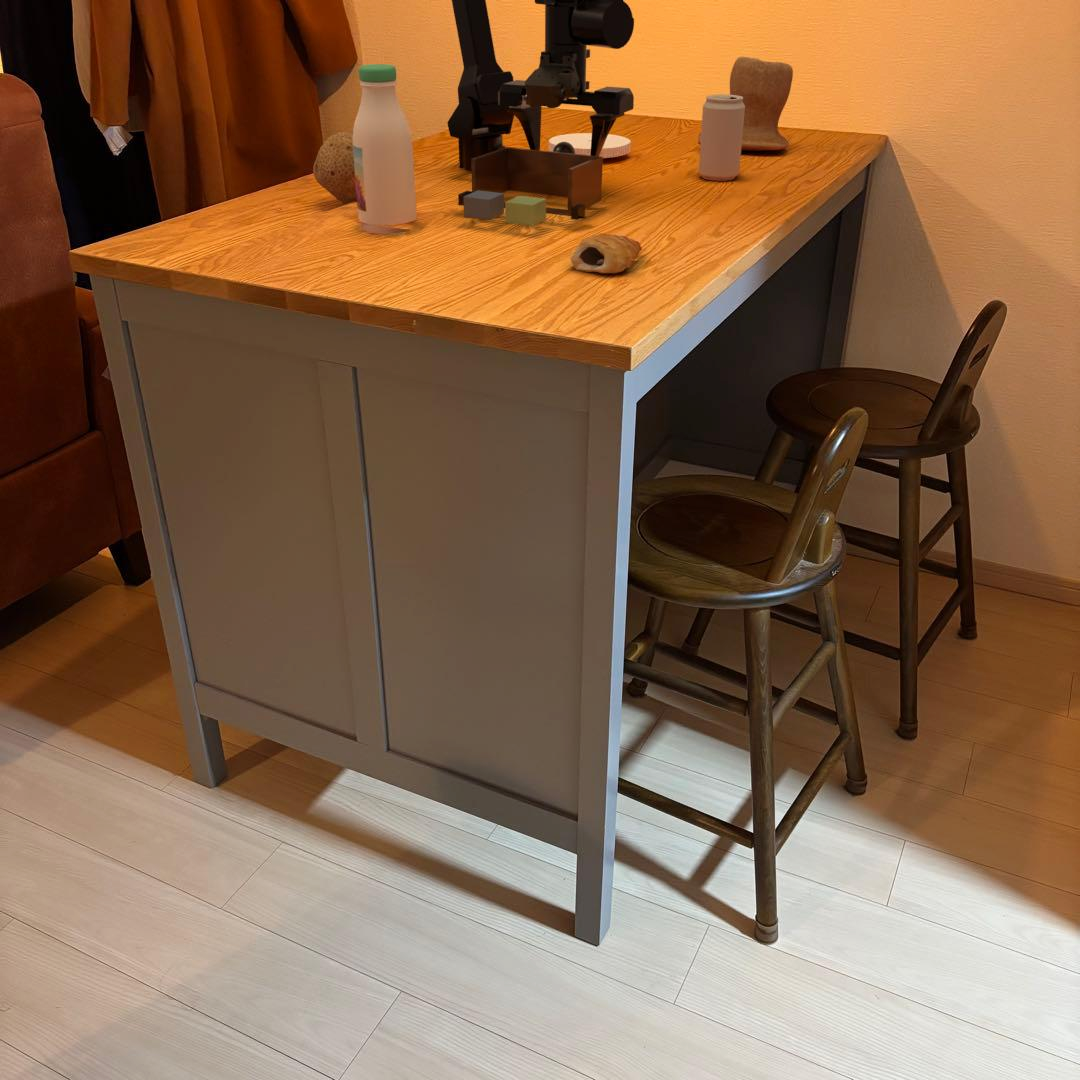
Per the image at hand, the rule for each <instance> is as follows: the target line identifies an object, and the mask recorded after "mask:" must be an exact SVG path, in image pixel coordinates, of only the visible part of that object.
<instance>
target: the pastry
mask: <svg viewBox="0 0 1080 1080" xmlns="http://www.w3.org/2000/svg"><path fill="white" fill-rule="evenodd" d="M640 252H642V245H641V243H640V242H639V241H637V240H635V239H632V238H629V237H628V236H625V235H618V234H609V233H608V234H607V233H598V234H592V235H591V236H589V237H584V238H582V240H581V241H580V242H579V244H578V245H577V246H576V248H575V250H574V252H573V253H572V255H571V256H570V262H571V264H572V265H573V266H574V269H575V270H577V271H580V272H581V271H582V272H586V273H588V272H589V273H590V272H595V273H599V274H617V273H620V272H623V271H624V270H625V269H627V268H628V270H629V269H631V268H632V267H634V266H635V265H636V264H637V263H638V262H639V260H634V259H636V257H637V256H638V255H639V254H640Z"/></svg>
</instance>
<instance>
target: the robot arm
mask: <svg viewBox="0 0 1080 1080" xmlns="http://www.w3.org/2000/svg"><path fill="white" fill-rule="evenodd" d="M534 3H535V4H536V5H543V6H544V7H545V8H544V19H545V20H544V50H543V51H540V56H539V65H538V67H537V68H536V69H534V71H532V73H531V74H530V75H529V76H528V77H527V78H526V80H522V79H516V80H514V76H513V74H512V72H511V71H510V70H508V71H504V70H503V69H502V67H501V66H500V65H499V63H498V62H497V57H496V52H495V46H494V40H493V35H492V30H491V24H490V18H489V13H488V12H489V11H488V6H487V0H451V5H452V9H453V15H454V21H455V26H456V31H457V37H458V42H459V48H460V54H461V59H462V65H463V70H462V73H461V76H460V79H459V82H458V86H457V97H458V98H457V101H458V104H457V106H456V108H455V109H454V111H453V113H452V114H451V116H450V117H449V119H448V120H447V123H446V124H447V128H448V132H449V136H450V137H451V138H455V139H458V141H457V142H458V166H459V169H463V170H465V171H468V172H472V169H471V159H473V158H475V157H478V156H481V155H484V154H487V153H490V152H493V151H496V150H499V149H502V148H505V147H506V146H505V145H503V144H504V142H503V135H510V134H511V131H512V127H513V123H514V118H516V119H517V120H518V121H519V123H520V125H521V127H522V129H523V133H524V136H525V138H526V141H527V145H528V147H529V149H531V150H540V149H541V135H542V130H541V129H542V107H546V108H547V109H556V108H559V107H560V106H561V105H573V106H583V107H585V106H586V107H591V108H592V110H593V111H594V112H595V113H594V114H591V115H589V120H590V123H591V127H592V128H591V133H592V140H591V153H590V155H591V156H599V155H600V153H601V150H602V148H603V145H604V143H605V140H606V138H607V136H608V134H610V131H612V128H613V126H614V124H615V122H616V121H617V119H618V118H621V117H623V116H625V113H627V112H630V111H632V110H634V104H635V103H634V102H635V97H634V93H633V91H632V90H631V88H630V87H619V86H604V87H602V88H598V89H596V90H594V91H588V90H590V80H587V59H588V58H590V57H591V49H589V48H587V46H590V47H596V48H606V49H612V50H620V49H622V48H624V47H625V46H626V45H628V43H629V42H630V40H631V38H632V35H633V32H634V27H635V18H634V17H633V12H632V9H631V7H630V6H629V4H628V3H627V2H626V1H624V0H534Z"/></svg>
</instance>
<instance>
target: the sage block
mask: <svg viewBox="0 0 1080 1080" xmlns="http://www.w3.org/2000/svg"><path fill="white" fill-rule="evenodd" d="M504 202H505V208H504V214H505V223H507V224H515V225H522V226H529V227H534V226H536V225H538V224H539V223H542V222H543V221H545V220H546V219H547V213H546V207H547V198H543V197H535V196H527V195H526V196H525V195H517V196H515V197H514V198H511V199H508V200H506V201H504Z"/></svg>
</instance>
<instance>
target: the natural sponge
mask: <svg viewBox="0 0 1080 1080" xmlns="http://www.w3.org/2000/svg"><path fill="white" fill-rule="evenodd" d="M312 172H313V176H314V179H315V180H316V182H317V183H318V185H320V186H321V187H322V188H323V189H325V190H326V191H327V192H328V193H330V194H331V195H332V197H334V198H335V199H337V200H338V201H339V202H340V203H341V204H342V205H343V204H344V205H349V204H351V203H354V202H357V195H356V183H355V170H354V157H353V133H351V132H347V131H340V132H336V133H334V134H331V135H330V136H329V137H327V138H326V139H325V141H323V143H322V144H321V146H320V148H319V150H318V152H317V155H316V158H315V160H314V163H313V167H312Z"/></svg>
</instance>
